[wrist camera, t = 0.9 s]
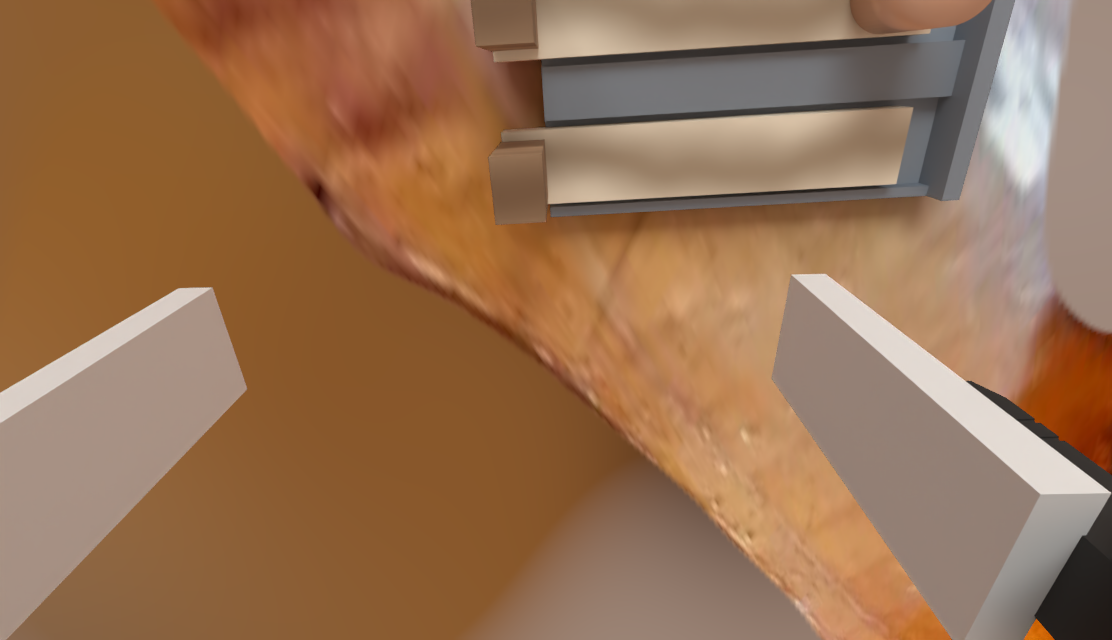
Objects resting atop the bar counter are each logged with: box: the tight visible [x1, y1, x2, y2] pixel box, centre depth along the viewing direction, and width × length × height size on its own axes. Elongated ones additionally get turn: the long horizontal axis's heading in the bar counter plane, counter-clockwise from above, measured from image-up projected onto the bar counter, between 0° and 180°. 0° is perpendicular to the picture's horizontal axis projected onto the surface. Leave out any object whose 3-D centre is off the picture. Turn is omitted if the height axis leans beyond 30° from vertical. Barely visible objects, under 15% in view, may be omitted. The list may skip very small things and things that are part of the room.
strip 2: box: [488, 106, 913, 225], centre depth 28 cm, size 4×23×8 cm, turn 93°
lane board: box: [541, 0, 1015, 217], centre depth 29 cm, size 14×24×3 cm, turn 93°
